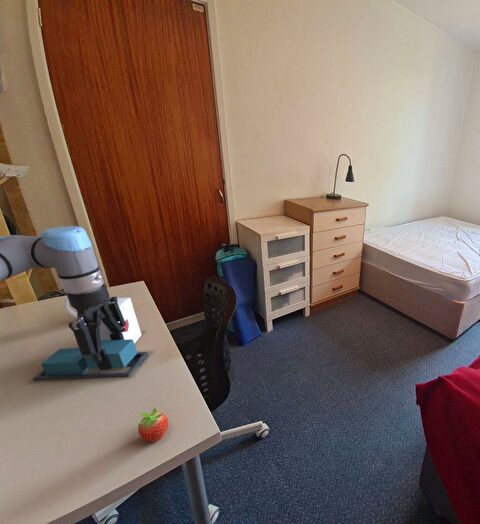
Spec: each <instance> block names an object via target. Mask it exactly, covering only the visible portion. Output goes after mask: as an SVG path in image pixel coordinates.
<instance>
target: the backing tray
mask: <svg viewBox="0 0 480 524" xmlns="http://www.w3.org/2000/svg"><path fill="white" fill-rule="evenodd" d="M148 358H149V353H148V351H137V354H136V355H135V356H134V357H133V359H132V360H131V361H130V362H129V363H128V364H127V365H126V367H125V368H130V369H129V370H128V371H127V372H109V373H108V372H107V373H88V374H87V373H84V374H83V375H59V376H47V375H46V373H45V371H44V369H43V370H42V371H40V372H39V373H38V374H37V375H36V376H34V377H33V378H32V380H33V382H38V381H39V382H40V381H62V380H63V381H64V380H65V381H66V380H87V379H108V378H109V379H110V378H129V377H131V376H132V374H133V373H134V372H135V371H136V370H137V368H138V367H141V366H142V365H143V364H144V362H145V361H146V360H147V359H148Z"/></svg>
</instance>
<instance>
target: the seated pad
mask: <svg viewBox="0 0 480 524" xmlns="http://www.w3.org/2000/svg"><path fill="white" fill-rule="evenodd" d="M40 365H41V367H42V369H43V370H44V371H45V373H46V374H45V376H59V375H83V374H86V372H88V370H90V369H89V367H88V365H87V363H86V361H85V358H84V356H82V355H81V352H80V349H79V347H72V348H71V347H69V348H59V349H58V350H56V351H55V352H54V353H53V354H51V355H50V356H49V357H48V358H46V359H45V360H44V361H42V362H41V363H40Z"/></svg>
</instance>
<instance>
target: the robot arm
mask: <svg viewBox="0 0 480 524" xmlns="http://www.w3.org/2000/svg"><path fill="white" fill-rule="evenodd" d="M95 254H96V253H95V251H94V248H93V243H92V241H91V240H90V238H89V236H88V233H87V231H86V230H85V229H84V228H83V227H81V226H78V225H67V226H57V227H52V228H48V229H45V230H43V231H41V234H40V235H37V236H36V235H18V234H14V235H13V234H11V235H8V236H7V235H3V236H0V282H2V281H5V280H8V279H10V278H13V277H15V276H18V275H20V274H22V273H23V274H24V273H26V272H29V271H30V270H33V269H54V270H55V272H56V274H57V278H58V279H59V282H60V284H61V286H62V289H63V291H64V293H66V296H65V297H67V298H68V300H69V306H70V307H71V308H73V309H74V310H76V312H77V317H76V319H75V320H74V322H73V321H72V322H69V323H68V328H69V329H70V330H71V331H72V333H73V336H74V338H75V341H76V343H77V346H78V348H79V349H80V352H81V355H82V356H89V355H92V358H93V360H94V362H95V363H97V365H98V367H99V369H98V370H99V371H110V370H112V369H113V368H112V366H111V364H110V361H109V359H108V356H107V353H106V351H105V349H101V339H100V329H99V326H101V321H102V322H103V323H104V324H105V325H106V327H107V328H108V329H109V330H110V331H111V332H113V333H111V334H110V335H109V336H110V338H111V340H124V337H123V334H122V332H125V328H123V327H124V326H126V322H125V320H124V318H123V315H122V313H121V310H120V308H119V306H118V301H117V298H118V297H117V296H110V293H109V291H108V288H107V284H105V280H104V277H103V275H102V272H101V270H100V266H99V264H98V263H99V262H98V261H97V258H96V255H95ZM118 322H119V323H118Z"/></svg>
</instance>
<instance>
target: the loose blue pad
mask: <svg viewBox="0 0 480 524" xmlns="http://www.w3.org/2000/svg"><path fill="white" fill-rule="evenodd" d="M101 349H105V351H106V353H107V356H108V359H109V361H110V364H111V366H112V368H111V369H125V368H127V367H126V365H127V364H128V363H129V362H130V361H131V360H132V359H133V357H134V356H135V355H136V354H137V352H138V349H137V348H136V343H135V344H134V341H133V339H128V340H101ZM84 358H85V361H86V363H87V365H88V367H89V369H88V370H99V367H98V365H97V363H95V362H94V360H93V358H92V355H89V356H84Z"/></svg>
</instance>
